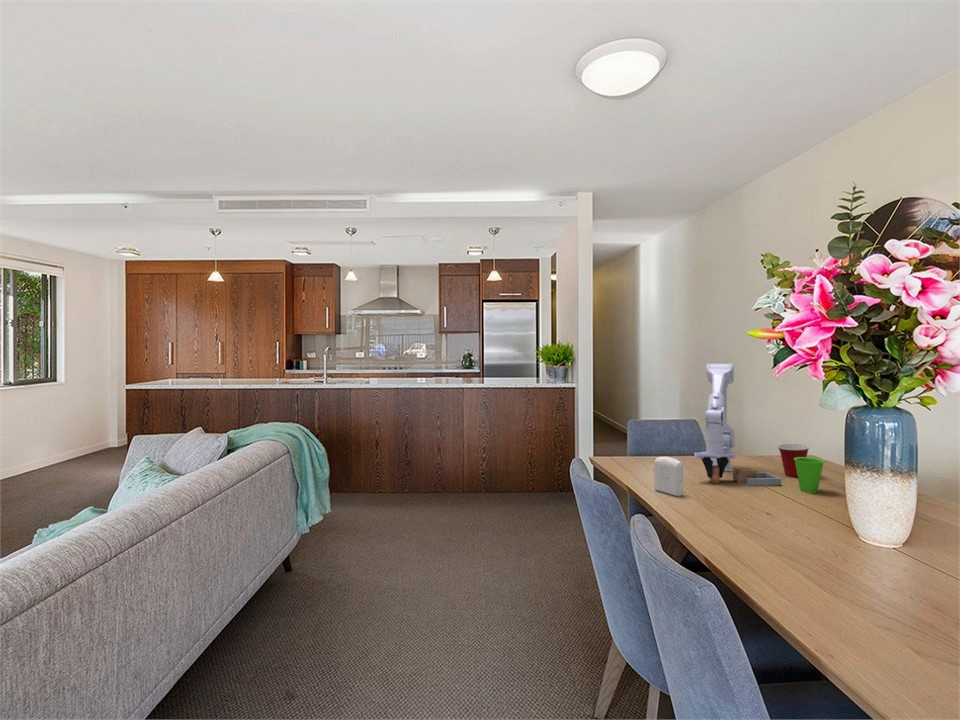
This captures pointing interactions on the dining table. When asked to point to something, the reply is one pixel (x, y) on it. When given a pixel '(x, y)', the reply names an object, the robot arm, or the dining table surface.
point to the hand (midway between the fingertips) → (714, 477)
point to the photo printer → (669, 476)
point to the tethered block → (734, 474)
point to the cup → (809, 473)
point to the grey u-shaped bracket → (763, 479)
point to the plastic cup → (792, 457)
